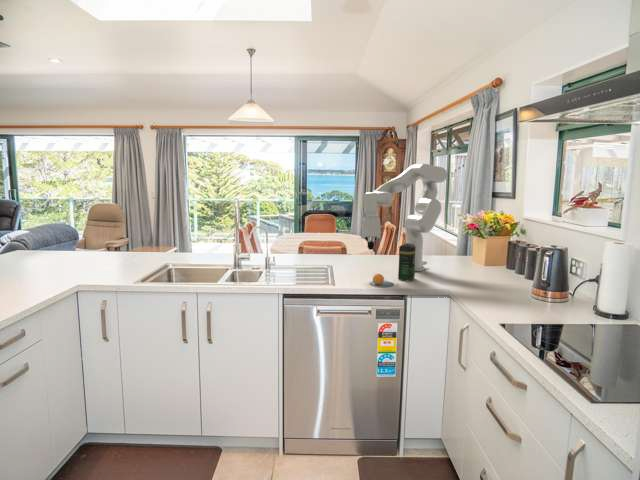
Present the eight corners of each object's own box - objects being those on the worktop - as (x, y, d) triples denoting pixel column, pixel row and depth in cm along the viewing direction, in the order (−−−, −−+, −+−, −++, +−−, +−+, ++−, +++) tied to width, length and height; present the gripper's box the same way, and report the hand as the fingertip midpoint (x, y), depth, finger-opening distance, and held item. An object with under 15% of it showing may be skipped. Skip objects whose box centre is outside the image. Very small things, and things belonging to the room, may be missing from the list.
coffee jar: (411, 281, 206) (412, 245, 204) (396, 280, 210) (397, 244, 207) (416, 277, 215) (417, 243, 212) (401, 276, 218) (402, 242, 216)
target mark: (381, 280, 210) (381, 279, 210) (399, 284, 200) (399, 284, 200) (364, 283, 203) (364, 283, 203) (382, 288, 193) (382, 288, 193)
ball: (381, 273, 196) (381, 285, 196) (385, 273, 201) (385, 284, 200) (370, 273, 199) (371, 285, 199) (375, 273, 204) (375, 284, 203)
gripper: (359, 216, 214) (358, 250, 216) (386, 215, 216) (385, 249, 219) (355, 215, 221) (355, 248, 224) (382, 214, 223) (381, 247, 226)
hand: (370, 249), depth 221 cm, fingers closed
